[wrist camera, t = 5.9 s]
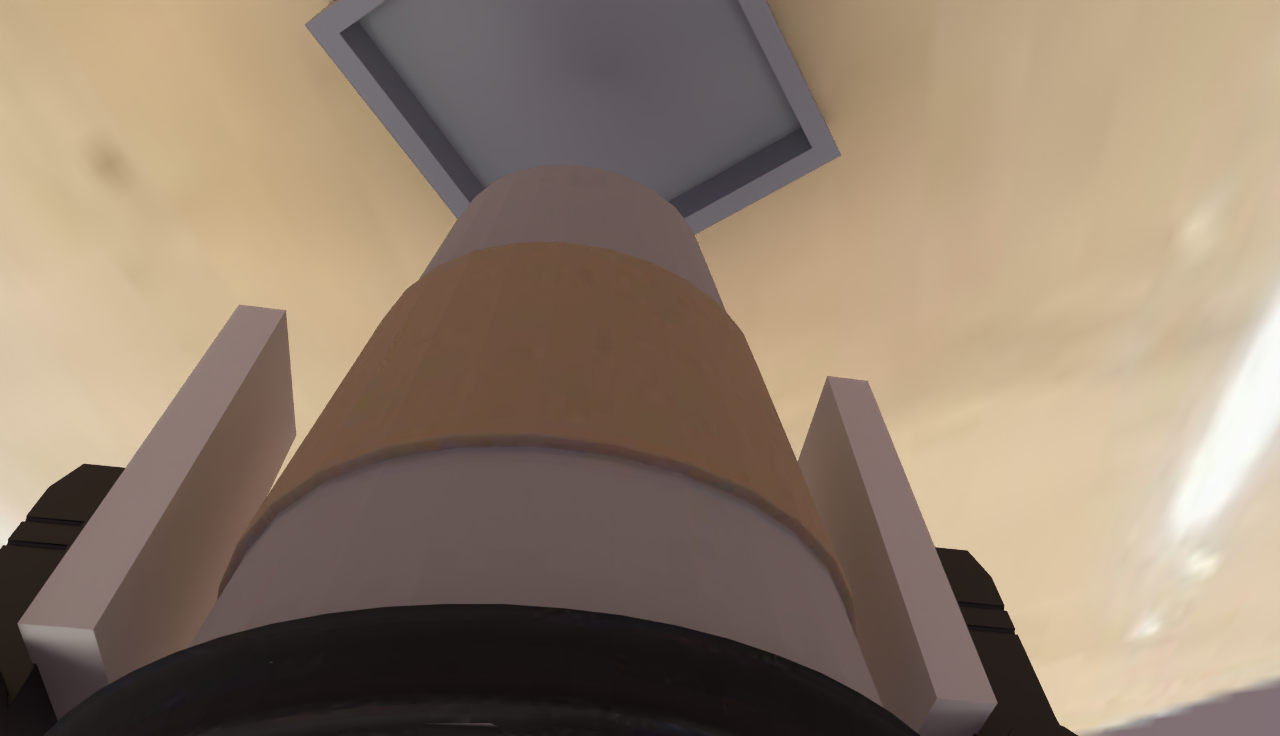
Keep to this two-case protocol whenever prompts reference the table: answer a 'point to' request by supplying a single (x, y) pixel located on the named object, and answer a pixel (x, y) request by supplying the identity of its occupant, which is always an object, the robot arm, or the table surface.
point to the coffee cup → (531, 515)
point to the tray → (586, 93)
